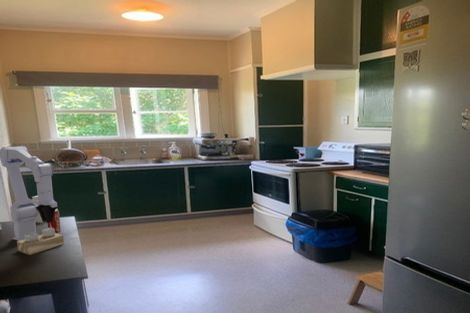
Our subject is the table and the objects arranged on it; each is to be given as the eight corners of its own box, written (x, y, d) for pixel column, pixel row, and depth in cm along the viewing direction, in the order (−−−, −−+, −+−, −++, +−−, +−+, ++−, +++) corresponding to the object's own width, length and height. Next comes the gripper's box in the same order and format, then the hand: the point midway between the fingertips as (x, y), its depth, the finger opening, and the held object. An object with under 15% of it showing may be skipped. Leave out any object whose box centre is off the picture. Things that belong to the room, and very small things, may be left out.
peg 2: (42, 238, 137) (41, 229, 137) (51, 235, 140) (50, 227, 140) (46, 239, 135) (46, 230, 135) (55, 237, 138) (54, 228, 138)
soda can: (55, 235, 150) (52, 211, 149) (45, 235, 151) (43, 211, 150) (63, 232, 155) (61, 208, 154) (54, 231, 156) (52, 208, 155)
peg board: (17, 250, 132) (16, 241, 131) (51, 240, 143) (51, 231, 143) (29, 255, 126) (28, 245, 126) (63, 243, 138) (63, 235, 138)
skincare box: (41, 223, 173) (38, 197, 171) (33, 222, 175) (31, 196, 174) (54, 219, 180) (52, 193, 179) (47, 218, 183) (45, 193, 181)
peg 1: (25, 243, 131) (24, 234, 131) (34, 240, 134) (33, 231, 134) (29, 245, 129) (28, 235, 129) (38, 242, 132) (37, 233, 132)
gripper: (26, 191, 136) (29, 222, 137) (43, 194, 129) (46, 226, 130) (43, 188, 142) (46, 217, 143) (61, 191, 134) (63, 221, 136)
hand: (47, 221), depth 137 cm, fingers open, 3 cm apart
